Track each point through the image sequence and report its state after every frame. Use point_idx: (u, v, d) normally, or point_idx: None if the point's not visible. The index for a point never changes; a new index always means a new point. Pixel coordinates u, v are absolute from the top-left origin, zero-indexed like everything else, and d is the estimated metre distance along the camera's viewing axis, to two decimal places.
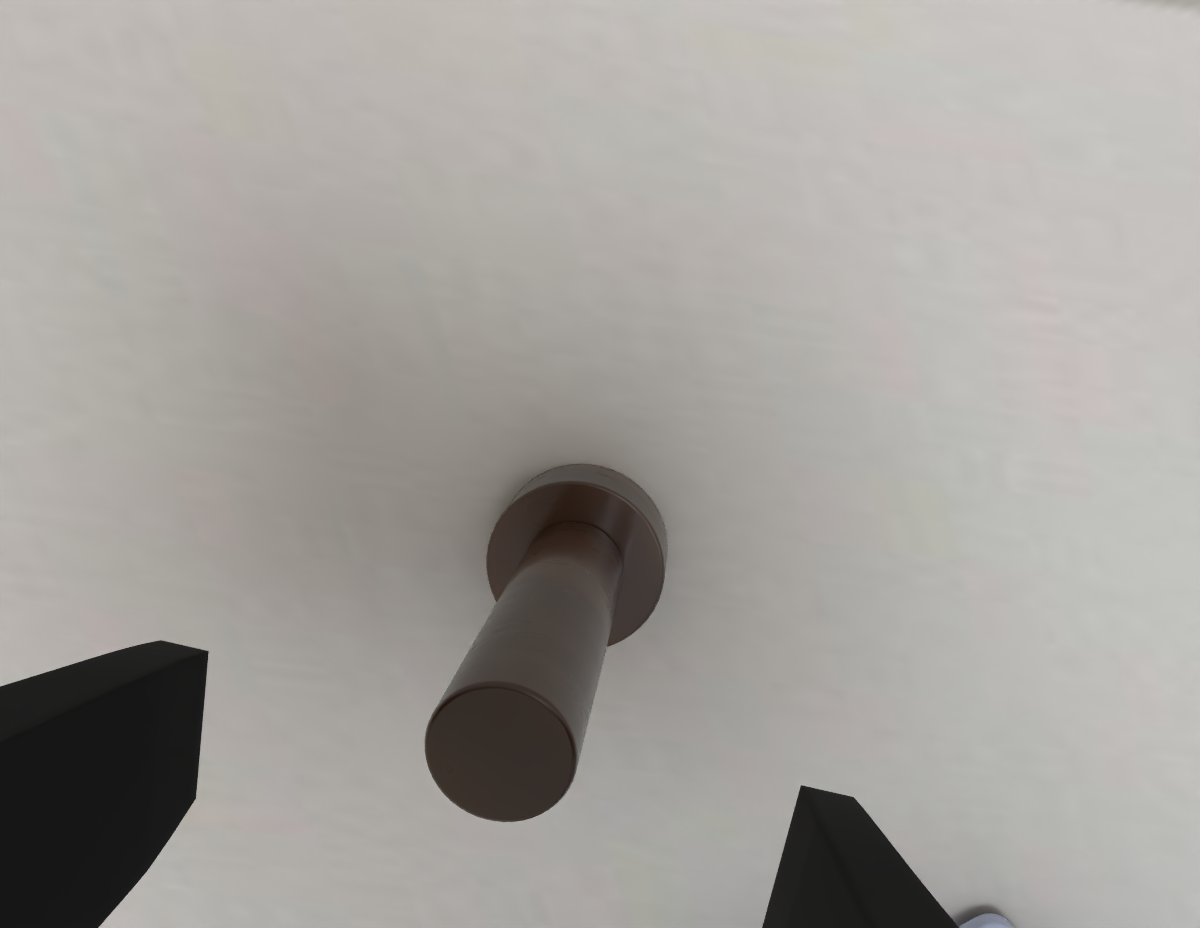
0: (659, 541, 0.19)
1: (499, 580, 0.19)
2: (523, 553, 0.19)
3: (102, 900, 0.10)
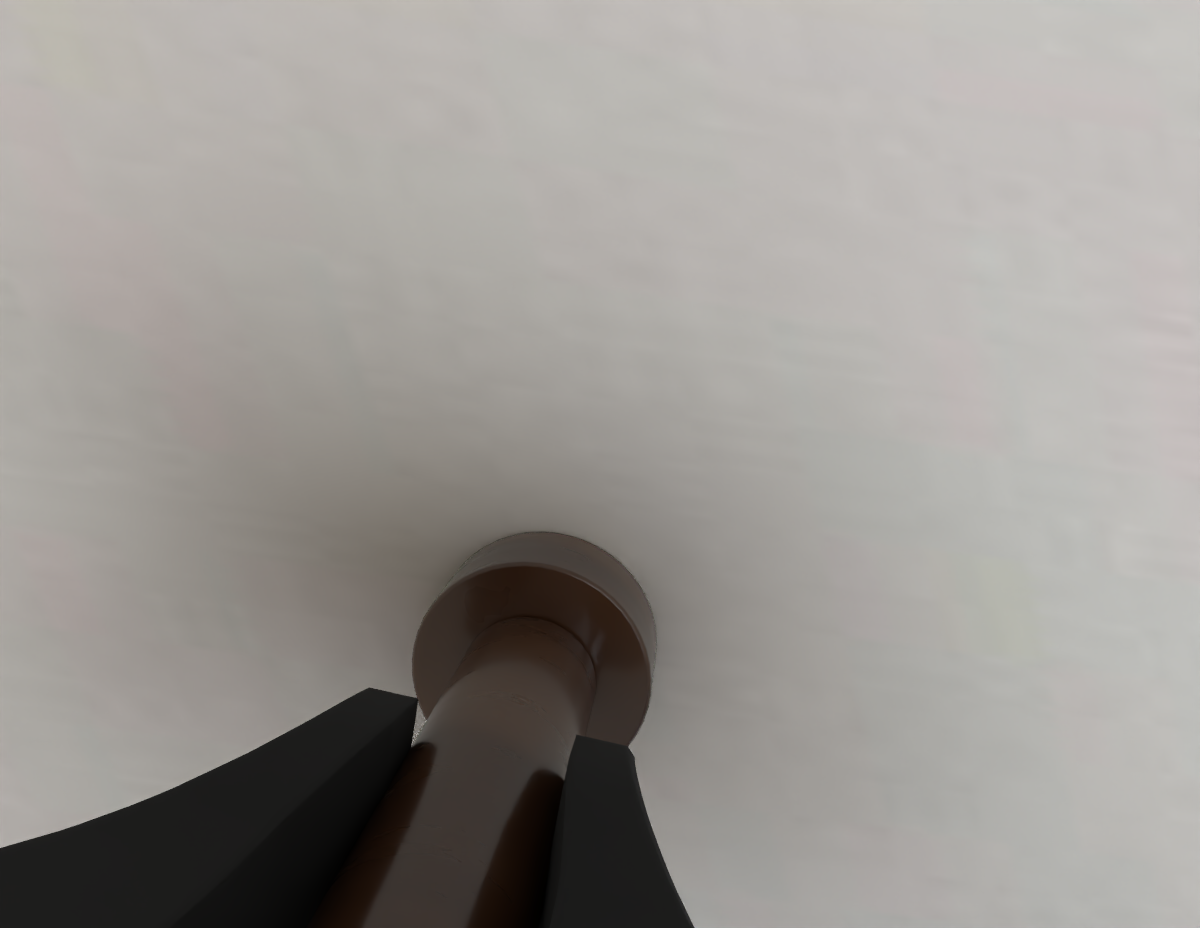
0: (644, 643, 0.14)
1: (429, 692, 0.14)
2: (460, 657, 0.14)
3: None
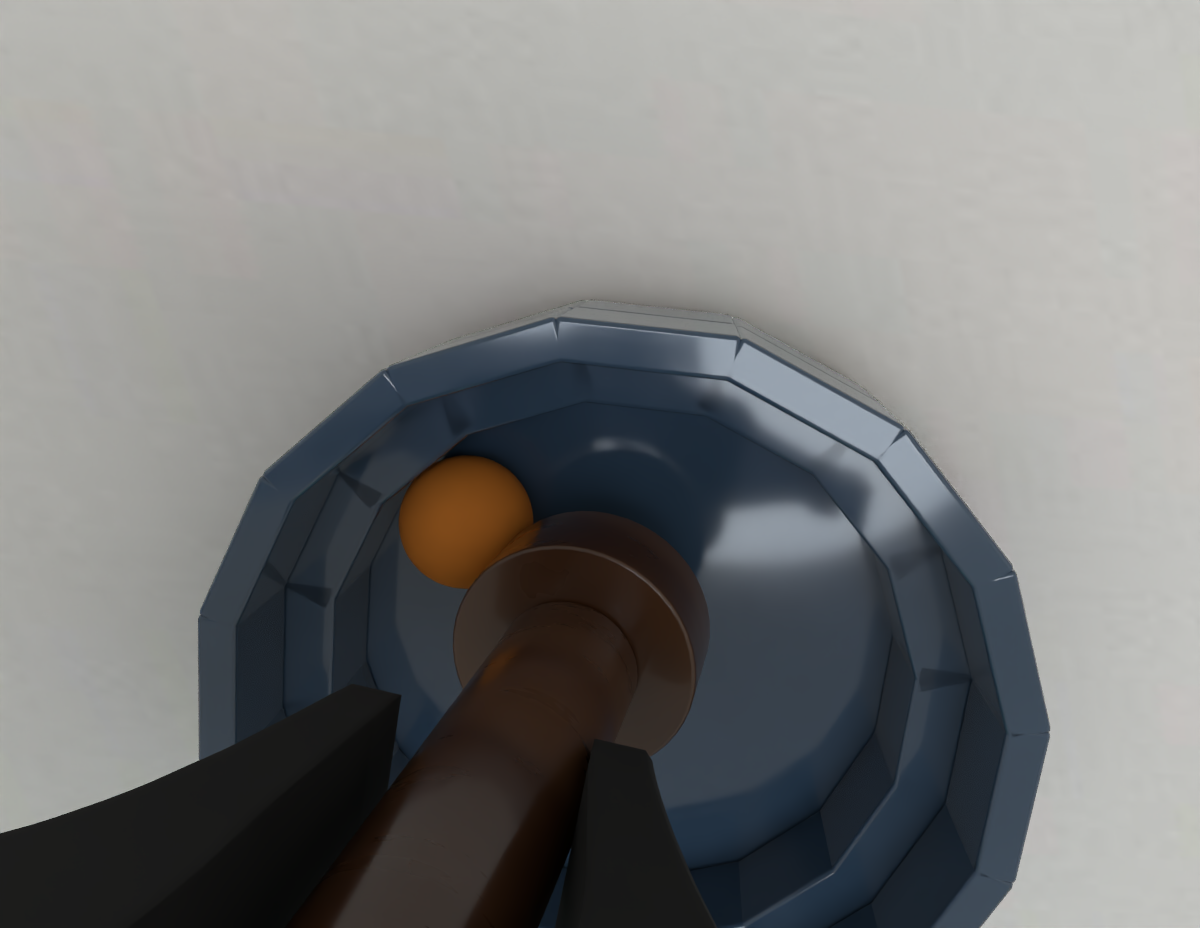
0: (695, 658, 0.13)
1: (466, 652, 0.14)
2: (504, 627, 0.13)
3: None
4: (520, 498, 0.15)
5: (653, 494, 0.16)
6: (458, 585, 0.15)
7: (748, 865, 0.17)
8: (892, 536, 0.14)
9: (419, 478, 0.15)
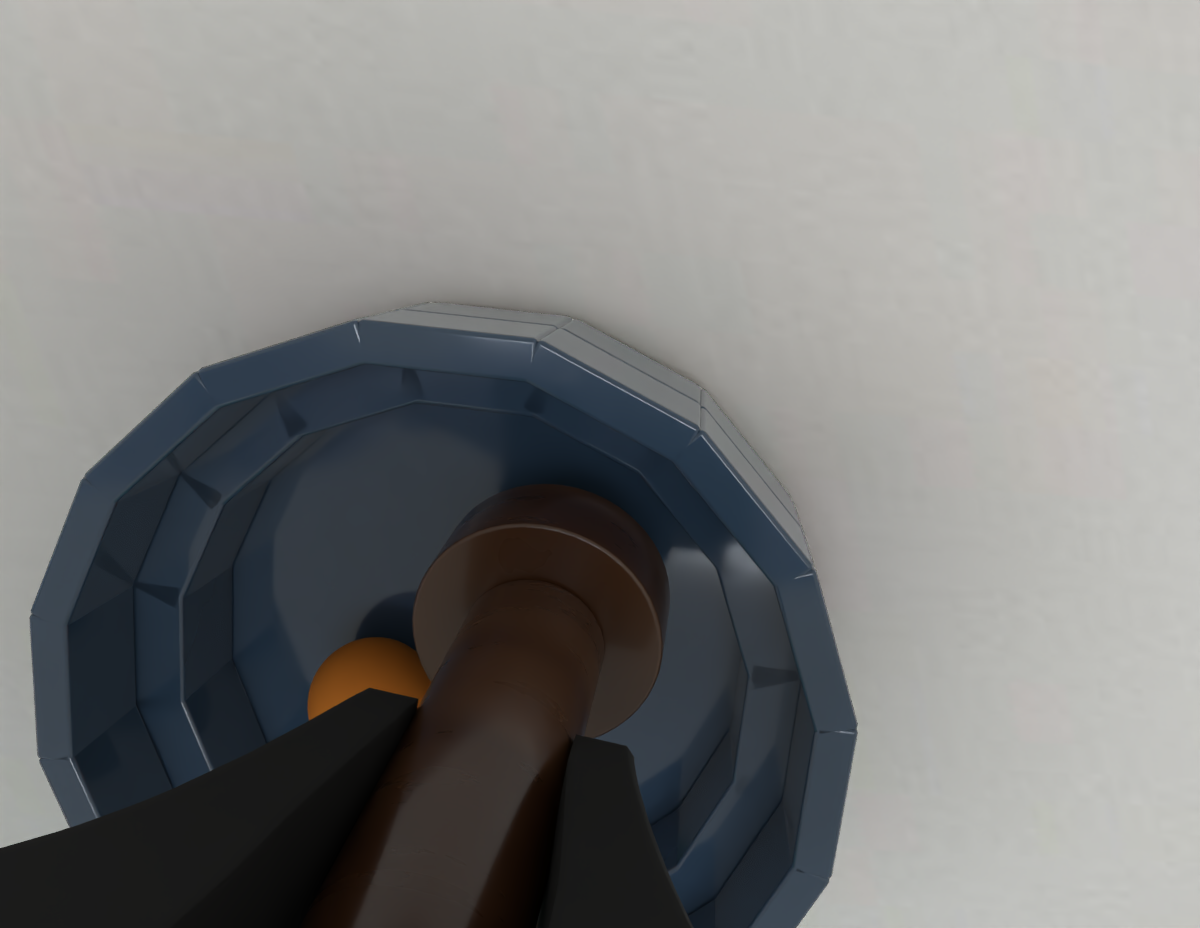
0: (662, 651, 0.13)
1: (427, 616, 0.13)
2: (474, 596, 0.13)
3: None
4: None
5: None
6: None
7: None
8: (719, 535, 0.14)
9: None
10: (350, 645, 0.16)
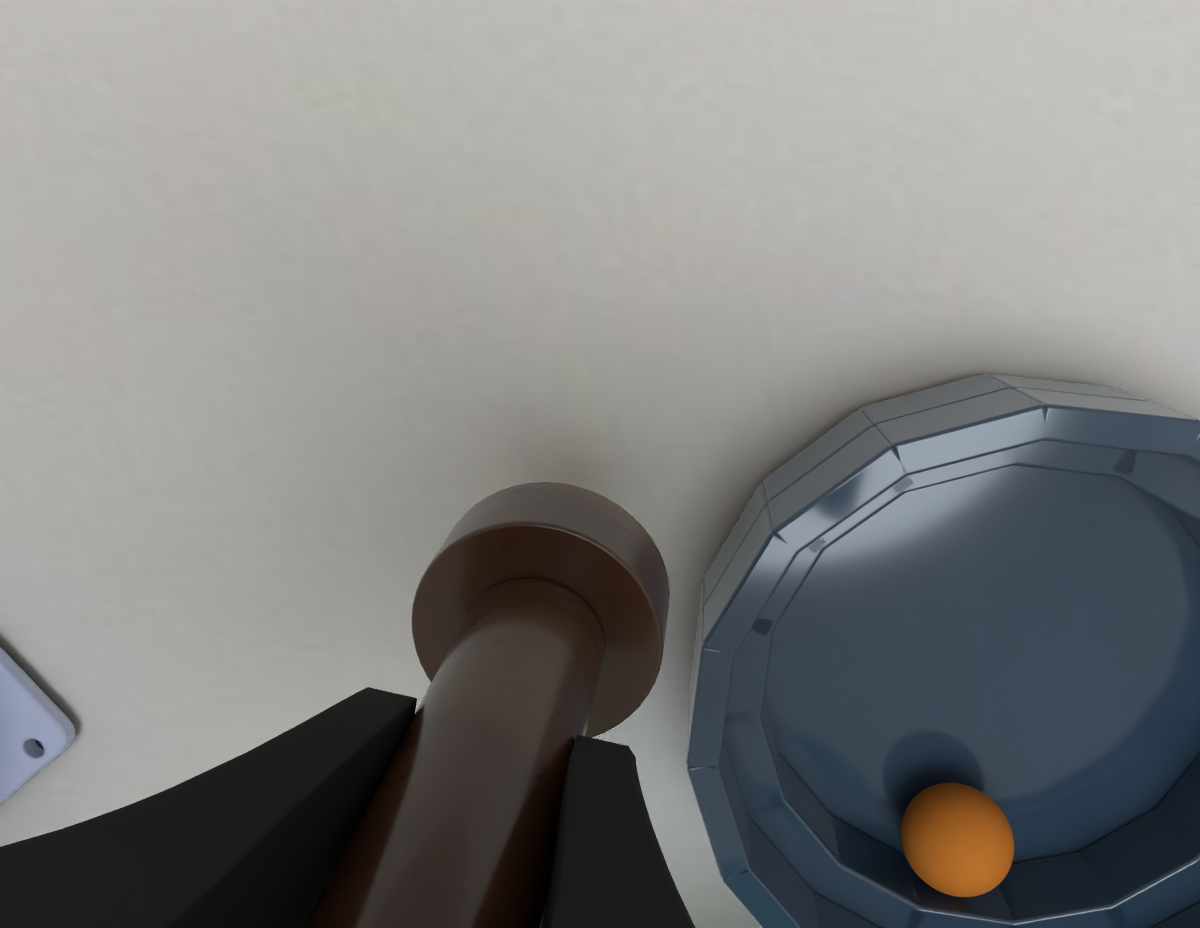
0: (662, 649, 0.13)
1: (427, 615, 0.13)
2: (473, 595, 0.13)
3: None
4: (1010, 828, 0.19)
5: (1029, 537, 0.19)
6: (949, 879, 0.19)
7: (1092, 855, 0.20)
8: None
9: (930, 787, 0.20)
10: None
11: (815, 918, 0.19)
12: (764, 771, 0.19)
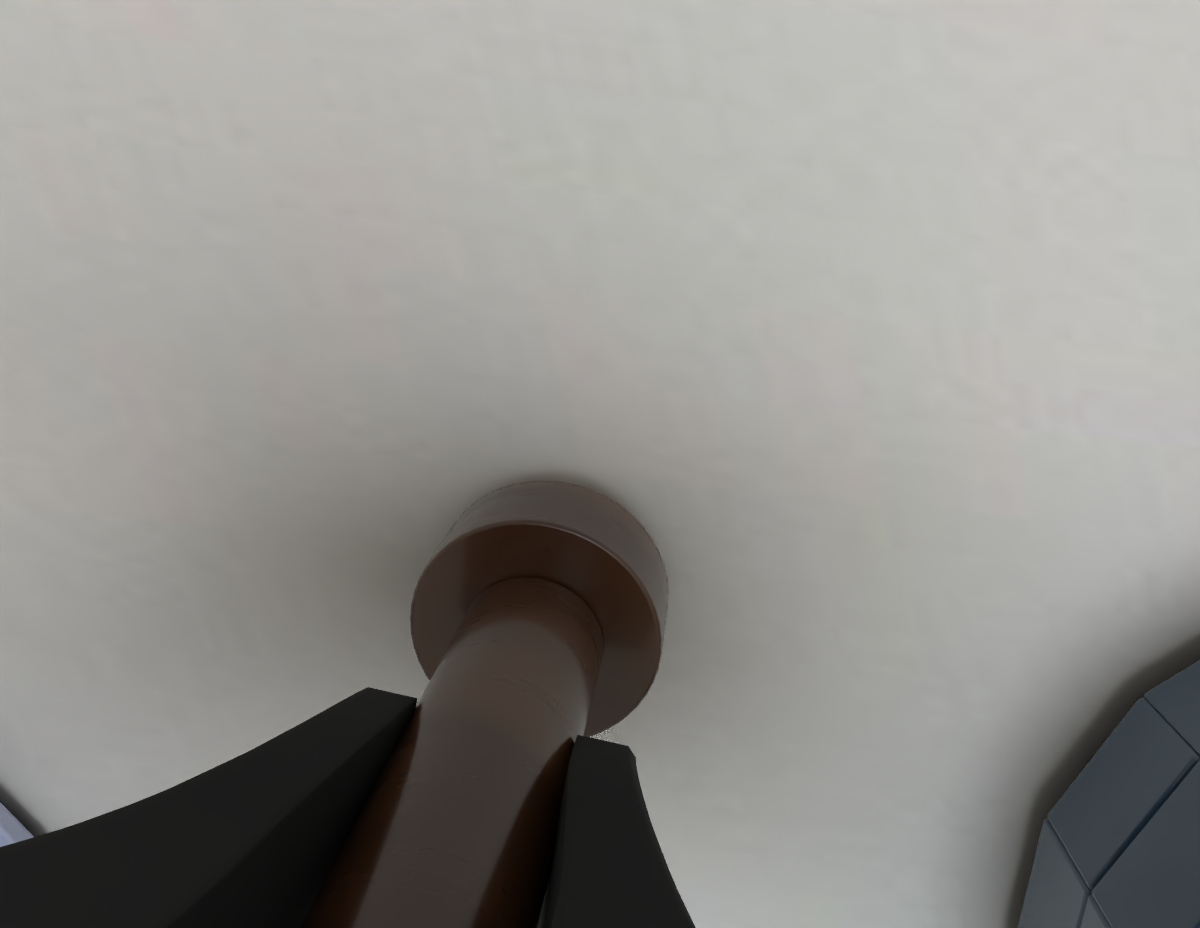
0: (661, 648, 0.13)
1: (426, 613, 0.13)
2: (472, 594, 0.13)
3: None
4: None
5: None
6: None
7: None
8: None
9: None
10: None
11: None
12: None
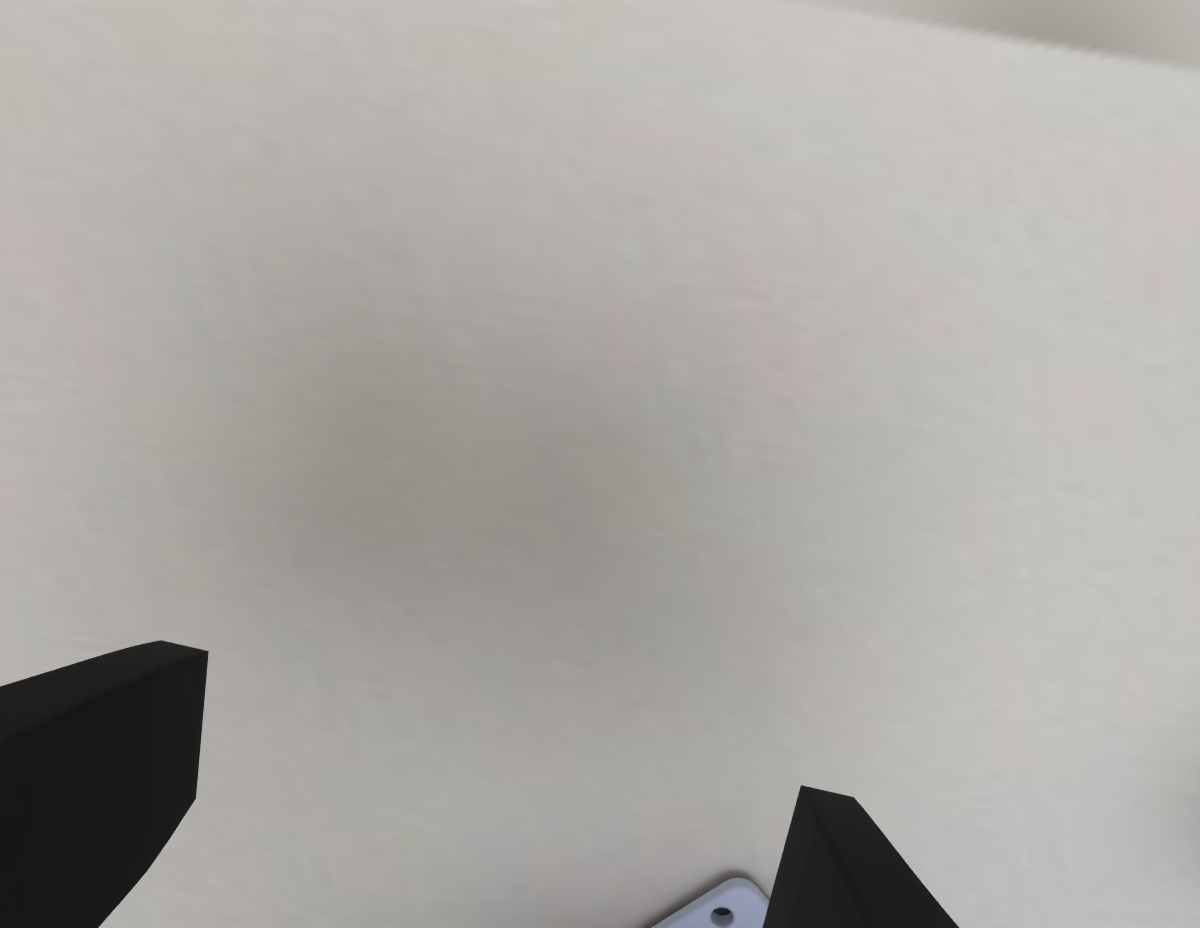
0: None
1: None
2: None
3: (102, 900, 0.10)
4: None
5: None
6: None
7: None
8: None
9: None
10: None
11: None
12: None
